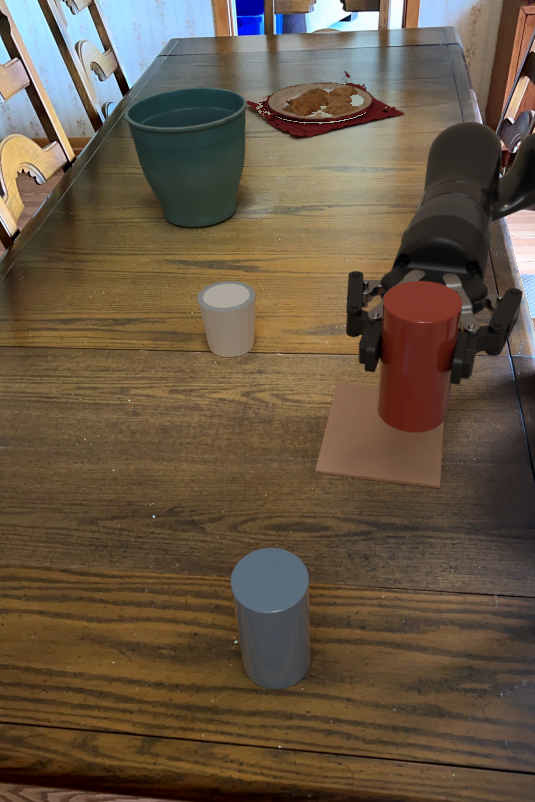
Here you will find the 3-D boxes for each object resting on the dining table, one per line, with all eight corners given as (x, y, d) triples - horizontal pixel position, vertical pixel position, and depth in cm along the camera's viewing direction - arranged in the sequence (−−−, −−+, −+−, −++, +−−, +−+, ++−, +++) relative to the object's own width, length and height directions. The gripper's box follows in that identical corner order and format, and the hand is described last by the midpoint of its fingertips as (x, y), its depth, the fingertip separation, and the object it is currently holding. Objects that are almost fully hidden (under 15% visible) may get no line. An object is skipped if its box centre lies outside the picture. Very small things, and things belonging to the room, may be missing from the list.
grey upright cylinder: (317, 632, 57) (315, 553, 51) (304, 695, 53) (300, 618, 47) (251, 620, 58) (241, 542, 52) (234, 682, 54) (221, 605, 48)
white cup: (231, 367, 84) (226, 317, 80) (192, 346, 88) (184, 297, 84) (270, 341, 88) (267, 291, 84) (231, 321, 92) (226, 274, 87)
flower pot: (148, 246, 109) (128, 134, 98) (140, 198, 123) (121, 95, 112) (264, 228, 111) (256, 117, 100) (243, 183, 125) (235, 81, 114)
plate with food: (243, 109, 156) (242, 93, 154) (345, 84, 164) (345, 68, 161) (294, 143, 140) (293, 126, 137) (405, 114, 147) (405, 96, 145)
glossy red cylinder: (448, 391, 57) (463, 283, 51) (445, 436, 53) (461, 325, 47) (380, 384, 58) (387, 278, 52) (373, 428, 55) (379, 319, 48)
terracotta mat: (445, 395, 78) (446, 392, 78) (439, 488, 68) (440, 485, 68) (336, 385, 81) (336, 382, 81) (315, 473, 70) (315, 470, 70)
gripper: (522, 299, 63) (509, 425, 51) (361, 281, 67) (313, 393, 55) (538, 220, 58) (528, 338, 46) (363, 205, 62) (311, 310, 50)
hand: (411, 367), depth 50 cm, fingers closed on glossy red cylinder, 5 cm apart
